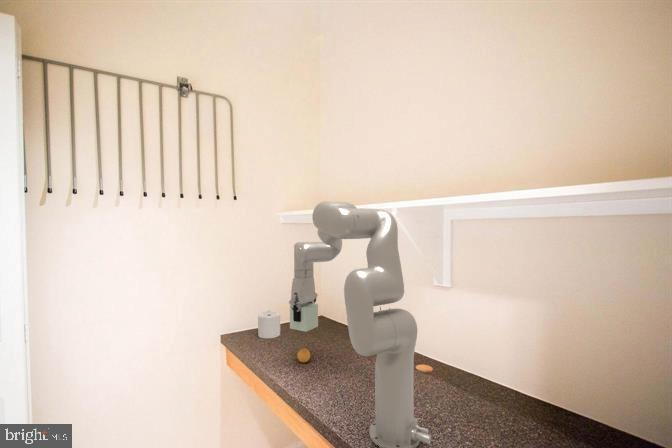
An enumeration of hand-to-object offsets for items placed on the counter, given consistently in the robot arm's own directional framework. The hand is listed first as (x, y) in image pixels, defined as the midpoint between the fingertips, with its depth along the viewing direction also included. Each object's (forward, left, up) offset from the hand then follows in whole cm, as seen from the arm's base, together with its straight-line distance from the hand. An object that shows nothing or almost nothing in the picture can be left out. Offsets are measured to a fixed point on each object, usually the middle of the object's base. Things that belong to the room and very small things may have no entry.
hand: (304, 318), depth 127 cm
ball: (0, 0, -15) cm, 15 cm away
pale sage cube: (0, 0, -3) cm, 3 cm away
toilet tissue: (+35, -17, -17) cm, 43 cm away
